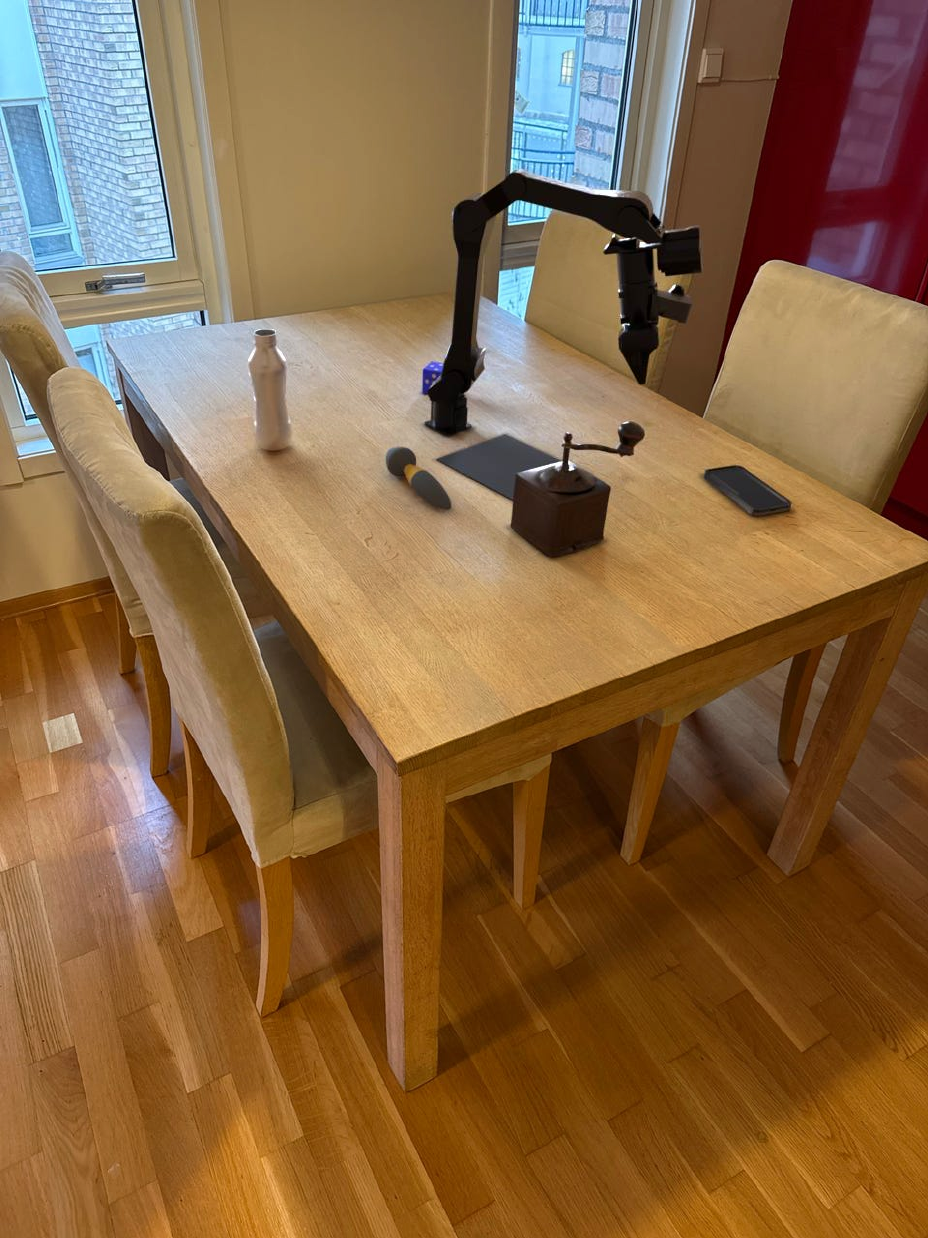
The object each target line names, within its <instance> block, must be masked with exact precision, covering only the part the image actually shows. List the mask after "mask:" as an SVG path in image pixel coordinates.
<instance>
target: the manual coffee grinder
mask: <svg viewBox="0 0 928 1238" xmlns="http://www.w3.org/2000/svg"><path fill="white" fill-rule="evenodd" d="M616 433H617V435H618V438H619V442H618V444H617V445H616V446H615V447H610V446H606V445H602V444H596V443H595V444H594V443H572V440H573V437H574V436H573V433H571V432H565V433H564V434H563V441H562V444H561V447H563V452H562V460H561V461H562V462H558V463H554V464H551V465H547V466H543V467H539V468H535V469H531V470H527V471H524V472H520V473H516V476H515V487H514V497H513V501H512V508H511V518H510V519H511V520H510V529H511V530H513V531H514V532H515V533H516V534H517V535H518V536H519V537H521V538H522V539H523V540H525V541H526V542H527V543H528V544H530V545H531V546H533V547H534V548H535V549H537V550H538V551H539V552H540V553H541V554H543V555H544V556H546V557H548V558H550V559H554V558H556V557H561V556H563V555H567V554H572V553H574V552H578V551H581V550H584V549H586V548H588V547H591V546H593V545H596V544H598V543H599V542H602V541H603V540H604V539H605V538H604V537H605V536H604V532H605V526H606V520H607V514H608V507H609V501H610V495H611V491H612V490H611V489H612V488H611V485H609V484H608V483H607V482H606V481H604V480H602V479H601V478H599V477H597V476H595V475H594V474H593V473H591V472H589V471H587V470H586V469H584V468H582V467H581V466H580V465H578V464H576V463H574V462H572V461H570V460H569V459H570V453H571V450H574V451H600V452H604V453H606V454H607V453H608V454H614V455H615V454H616V455H618V456H620V457H621V458H623V457H626V456H628V457H632V456H634V455H635V452H634V451H635V447H636V446H637V445H638V444H639V443H641V442H642V441H643V440H644V438H645V436H646V432H645V429H644V428H643V427H642V426H641V424H639V423H638V422H634V421H631V420H630V421H625V422H622V423H620V425H618V427H617V432H616Z"/></svg>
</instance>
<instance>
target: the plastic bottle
mask: <svg viewBox="0 0 928 1238" xmlns="http://www.w3.org/2000/svg"><path fill="white" fill-rule="evenodd" d="M277 335H278V334H277V331H276V330H275V329H273V328H259V329H256V330H254V331H253V346H255V348H254V349H253V351H252V352H251V354H250V356H249V358H248V360H247V371H248V375H249V380H250V383H251V387H252V388H251V389H252V393H253V399H254V400H253V401H254V425H253V436H254V439H255V443H256V444H257V445H258V447H259V448H261V449H263V450H266V451H279V450H283V449H284V450H285V448H288V447H289V446H290V444H291V442H292V439H293V428H292V423H291V421H290V416H289V409H288V404H287V377H288V376H287V373H288V362H287V360H286V358H285V355H284V354H283V353H282V351H281V350H280V349H279V348H278V347H277V345H278V343H279V341H278V338H277Z"/></svg>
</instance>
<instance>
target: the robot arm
mask: <svg viewBox="0 0 928 1238" xmlns="http://www.w3.org/2000/svg"><path fill="white" fill-rule="evenodd" d="M517 201H519V202H524V203H528V204H532V205H535V206H540V207H544V208H548V209H551V210H554V211H558V212H562V213H567V214H569V215H574V216H578V217H581V218H586V219H588V220H590V221H592V222H594V223H596V224H597V225H599V226H600V227H602V228H603V229H605V230H607V231H609V232H611V233H613V235H612V237H611V239H610V241H609V243H608V244H607V245H606V246H605V248H604V249H603V252H602V253H603V255H605V256H607V255H616V266H617V268H616V269H617V281H618V299H619V308H620V318H619V320H620V325H622V328H621V329H620V330H619V331H618V337H617V342H618V351H620V354H622V356H623V358H624V360H625V362H626V363H627V365H628V367H629V370H630V371H631V373H632V375H633V377H634V379H635V380H636V382H637V384H638V385H646V383H647V376H648V368H649V362H650V356H651V354H652V353H654V351H656V350H657V349H658V348H659V346H660V334H659V333H660V331H659V326H658V325H659V320H660V318H664V319H668V320H671V321H672V320H673V321H677V323H680V324H687V323H688V321H689V317H690V314H691V310H692V308H693V304H694V302H693V298H692V297H690V295H689V294H687V295H686V293H685V288H684V286H683V285H680V284H677V283H674V284H673V286H672V287H671V288H670V289H669V290H668V289H665V290H660V289H658V282H657V281H656V277H655V276H656V275H655V256H654V255H655V253H654V250H656V266H657V271H660V273H661V274H664V276H665V277H674V276H683V275H685V276H686V275H694V274H702V273H703V271H704V244H702V234H701V226H700V225H692V226H688V227H685V228H684V227H683V228H677V229H676V228H675V229H670V230H668V229H667V227H666V226H665V224H664V223H663V221H662V220H660V219H659V217H658V216H657V215H656V213H654V206H653V203H652V200H651V198H650V197H649V195H648V194H646V193H645V192H642V191H639V190H628V189H627V190H626V189H625V190H624V189H608V190H607V189H606V190H605V189H604V190H603V189H596V188H591V187H588V186H583V185H580V184H575V183H571V182H567V181H564V180H560V179H556V178H552V177H548V176H544V175H541V174H537V173H532V172H529V171H528V170H526V169H524V168H517V169H515V170H513V171H512V172H510V173H509V174H507V176H505V178H504V179H503V180H502V181H501V182H499V183H498V184H496V185H495V186H493V187H492V188H491V189H489V190H488V191H486V192H485V193H483V192H474V193H472V194H470V195H468V196H467V197H466V198H464V199H463V200H461V201H459V202H458V203H457V205H455V207H454V208H453V210H452V214H451V227H452V238H453V243H454V246H455V249H456V254H457V263H456V264H457V265H456V278H455V291H454V305H453V317H452V329H451V340H450V343H449V345H448V348H447V352H446V354H445V357H444V360H443V363H444V364H443V368H442V372H441V375H440V376H439V377H438V379H437V380H436V381H435V382H434V383H433V384H432V386H431V387H430V388H429V389H428V394H427V395H428V398H429V401H430V403H431V404H430V419H429V420H426V421H424V426H426V427H427V428H430V429H432V430H434V432H435V431H436V432H437V433H439V434H442V435H443V436H445V437H449V436H453V435H454V434H458V433H460V432H463V431H466V430H469V429H472V427H473V425H472V423H469V422H468V409H469V408H468V397H466V395H465V394H466V393H467V392H468V391H469V390H470V389H471V388H472V386H474V384H475V383H476V381H477V380H478V379H479V378H480V376H481V375H482V373H484V371H485V363H484V362H485V361H484V360H485V356H486V352H487V348H486V347H479V342H478V339H477V338H478V337H477V333H478V323H479V322H478V321H479V314H480V313H479V312H480V303H481V302H480V301H481V291H482V280H483V269H484V260H485V259H484V258H485V253H486V250H487V248H488V245H489V242H490V239H491V236H492V234H493V230H494V225H495V221H496V219H497V215H498V214H500V213H501V212H503V211H504V210H506V209H507V208H509V207H510V206H511V205H513V204H514V203H516V202H517ZM618 236H619V237H618ZM620 237H621V238H620ZM623 238H624V239H623Z"/></svg>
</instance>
